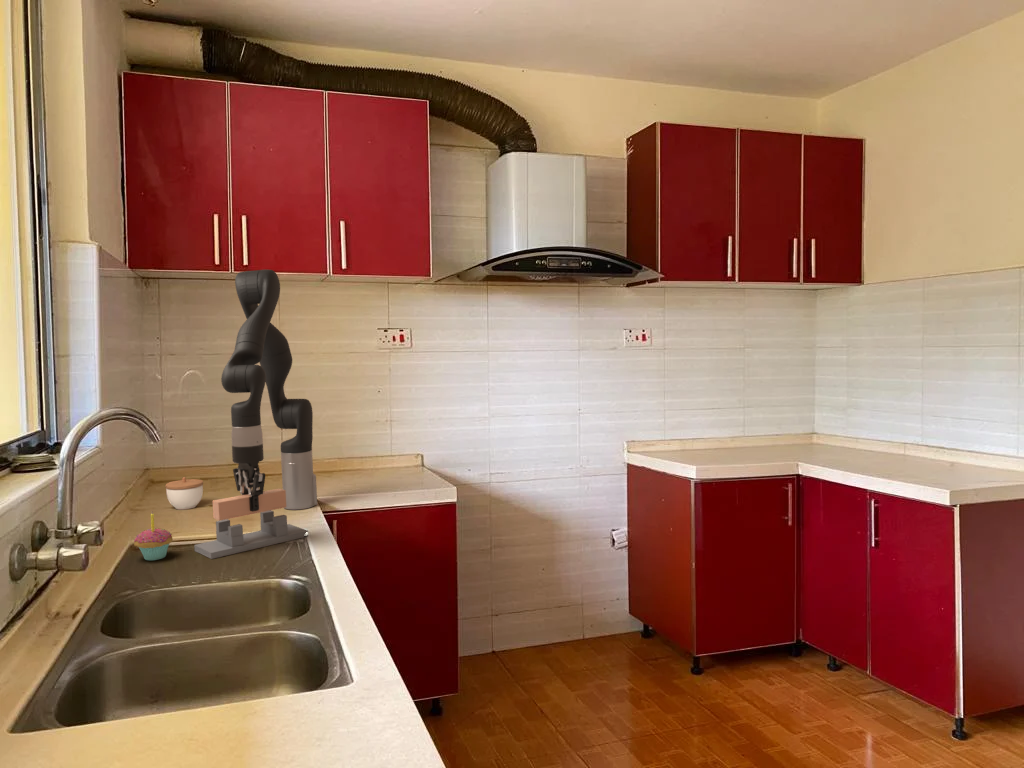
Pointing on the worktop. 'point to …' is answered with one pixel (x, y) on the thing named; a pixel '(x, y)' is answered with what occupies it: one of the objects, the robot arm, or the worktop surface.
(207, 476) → the worktop surface
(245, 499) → the clay strip
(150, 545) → the cupcake
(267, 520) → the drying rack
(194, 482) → the lidded jar
